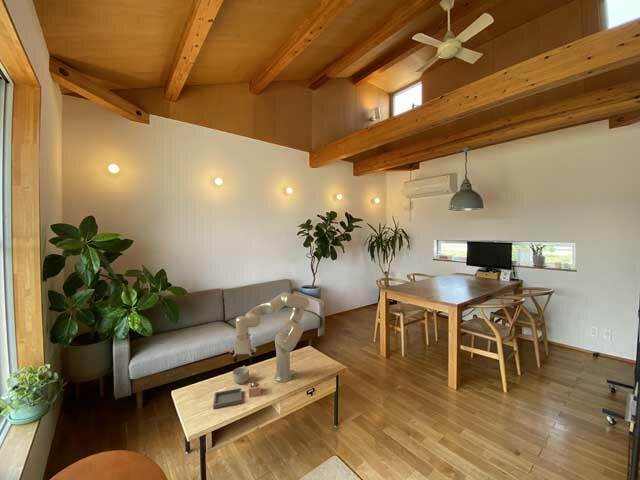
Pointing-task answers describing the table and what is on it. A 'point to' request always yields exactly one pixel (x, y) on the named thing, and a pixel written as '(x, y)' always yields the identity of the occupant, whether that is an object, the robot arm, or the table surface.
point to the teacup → (241, 375)
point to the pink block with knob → (254, 390)
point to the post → (254, 384)
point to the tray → (227, 398)
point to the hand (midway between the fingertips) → (243, 361)
